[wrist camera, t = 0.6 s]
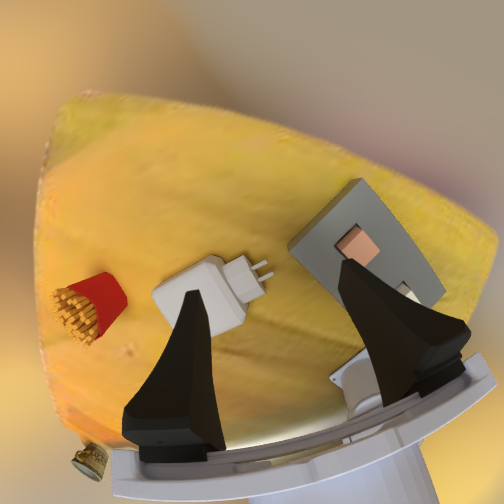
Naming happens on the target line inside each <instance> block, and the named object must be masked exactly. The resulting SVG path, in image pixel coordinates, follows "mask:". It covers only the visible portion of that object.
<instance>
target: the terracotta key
mask: <svg viewBox="0 0 504 504" xmlns="http://www.w3.org/2000/svg"><path fill="white" fill-rule="evenodd" d="M336 246H337V247H338V248H339V249H340V250H341V251H342V252H343V253H344V254H345V256H346V257H347V258H348V259H350V258H353V259H354V260H356V261H357V262H358V263H360V264H361V265H362V266H364V267H365V266H366V265H367V264H368V263H369V262H370V261H371V260H372V259H373V258H374V257H375V256H376V255H377V254H378V253H379V252H380V250H379V249H378V247H377V246H376V245H375V244H374V243H373V241H372V240H371V239H370V238H369V237H368V235H367V234H366V233H365V232H364V231H363V230H362V229H360V228H358V227H356V226H354V227H353V228H352V229H351V230H350V231H349V232H348V233H347V234H346V235H345V236H344V237H343V238H342V239H341V240H340V241H339V242H338V243H337V244H336Z"/></svg>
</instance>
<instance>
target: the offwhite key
mask: <svg viewBox="0 0 504 504" xmlns="http://www.w3.org/2000/svg"><path fill="white" fill-rule="evenodd" d="M395 290H397V291H398V292H400V293H401V294H403V295H405V296H406V297H408V298H410V299H412V300H413V301H415V302H417V303H419V304H421V303H420V302H419V300H418V299H417V298H416V296H415V295H414V293H413V292H412V291H411V290H410V289H409V288H408V287H407V286H406V285H404V284H403V283H402V282H401V283H400V284H399V285H398V286H397V287H396V288H395Z"/></svg>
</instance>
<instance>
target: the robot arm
mask: <svg viewBox="0 0 504 504" xmlns="http://www.w3.org/2000/svg"><path fill="white" fill-rule="evenodd" d="M338 291H339V294H340V296H341V299H342V301H343V304H344V306H345V308H346V310H347V312H348V313H349V315H350V317H351V319H352V321H353V323H354V324H355V326H356V328H357V330H358V332H359V334H360V336H361V338H362V340H363V342H364V344H365V346H366V348H365V349H363V350H362V351H361V352H360V353H359V354H357V355H356V356H355V357H354V358H352V359H351V360H350V361H348V362H347V363H346V364H345V365H343V366H342V367H341V368H339V369H338V370H337V371H335V372H334V373H333V374H331V375H330V376H329V379H330V380H331V381H332V382H334V383H335V384H336V385H337V386H339V387H340V388H341V389H343V392H344V396H345V400H346V404H347V407H348V411H349V413H348V414H347V420H348V421H346V422H344V423H343V424H340V425H337V426H334V427H331V428H328V429H325V430H322V431H318V432H315V433H311V434H308V435H304V436H300V437H296V438H292V439H288V440H284V441H279V442H275V443H270V444H265V445H259V446H254V447H248V448H241V449H234V450H227V451H225V450H226V445H225V441H224V437H223V433H222V428H221V423H220V419H219V414H218V408H217V403H216V397H215V391H214V385H213V377H212V356H211V332H210V325H209V318H208V314H207V311H206V308H205V305H204V302H203V299H202V296H201V293H200V290H199V289H196V290H191V291H187V292H186V293H185V296H184V300H183V303H182V307H181V310H180V313H179V316H178V318H177V321H176V324H175V327H174V329H173V331H172V334H171V336H170V338H169V341H168V343H167V345H166V347H165V349H164V351H163V353H162V355H161V357H160V359H159V361H158V362H157V364H156V366H155V367H154V369H153V371H152V372H151V374H150V375H149V377H148V378H147V380H146V381H145V382H144V384H143V385H142V387H141V388H140V389H139V391H138V392H137V393H136V394H135V396H134V397H133V398H132V399H131V400H130V401H129V403H128V404H127V405H126V406H125V407H124V412H123V418H122V435H123V437H124V438H125V439H127V440H129V441H131V442H132V443H134V444H136V445H138V446H139V451H134V450H120V449H112V450H111V463H112V464H111V467H112V468H111V469H112V489H113V490H112V491H113V495H114V496H117V497H124V498H132V499H141V500H151V501H168V502H202V501H203V502H205V501H221V500H233V499H241V498H248V500H249V504H440V503H439V500H438V497H437V494H436V492H435V488H434V486H433V483H432V480H431V477H430V474H429V472H428V469H427V467H426V464H425V461H424V458H423V456H422V454H421V451H420V448H419V447H420V446H421V444H422V442H423V440H424V438H425V437H426V436H428V435H430V434H432V433H433V432H435V431H436V430H438V429H439V428H441V427H443V426H444V425H446V424H447V423H449V422H450V421H452V420H453V419H455V418H456V417H458V416H459V415H460V414H462V413H463V412H465V411H466V410H467V409H469V408H470V407H471V406H473V405H474V404H475V403H477V402H478V401H479V400H480V399H482V398H483V397H484V396H485V395H487V394H488V393H489V392H490V391H491V390H492V389H494V388H495V387H496V386H497V384H498V383H497V381H496V380H495V378H494V376H493V374H492V372H491V371H490V369H489V367H488V366H487V364H486V362H485V361H484V359H483V357H482V355H481V354H480V352H477V353H475V354H474V355H472V356H471V357H469V358H468V359H466V360H465V361H464V362H463V363H462V361H461V360H460V359H461V358H462V354H461V353H460V351H461V349H462V348H463V347H464V345H465V344H466V343H467V342H468V340H469V338H470V337H471V331H470V329H469V328H468V326H467V325H466V324H465V322H464V321H463V320H461V319H457V318H454V317H450V316H447V315H445V314H442V313H439V312H437V311H434V310H432V309H430V308H427V307H425V306H423V305H421V304H419V303H417V302H415V301H413V300H412V299H410V298H408V297H406V296H405V295H403V294H401V293H400V292H398V291H397V290H395V289H394V288H392V287H391V286H389V285H388V284H386V283H385V282H384V281H382V280H381V279H380V278H378V277H377V276H376V275H374V274H373V273H372V272H370V271H369V270H368V269H366V268H365V267H364V266H362V265H361V264H360V263H358V262H357V261H356V260H354V259H353V258H350V259H346V260H342V263H341V270H340V277H339V283H338ZM334 378H335V379H334ZM339 440H342V441H343V444H344V445H341V446H338V447H335V448H333V449H330V450H327V451H323V452H320V453H317V454H314V455H311V456H308V457H304V458H301V459H298V460H294V461H290V462H287V463H283V464H279V465H275V466H272V465H271V462H270V461H262V460H267V459H272V458H277V457H282V456H286V455H290V454H295V453H299V452H302V451H306V450H310V449H313V448H317V447H320V446H324V445H327V444H330V443H333V442H336V441H339ZM256 461H262V462H256ZM250 462H251V463H250ZM237 464H238V465H237Z"/></svg>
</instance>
